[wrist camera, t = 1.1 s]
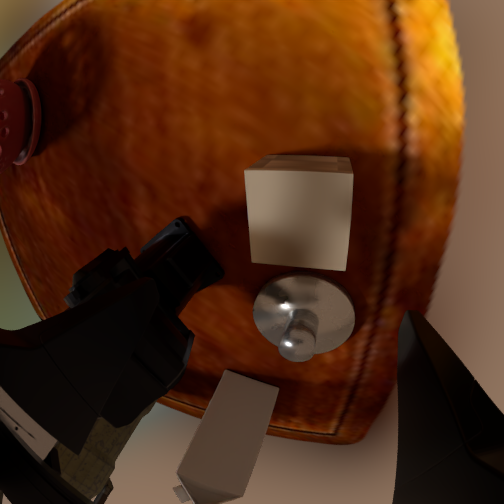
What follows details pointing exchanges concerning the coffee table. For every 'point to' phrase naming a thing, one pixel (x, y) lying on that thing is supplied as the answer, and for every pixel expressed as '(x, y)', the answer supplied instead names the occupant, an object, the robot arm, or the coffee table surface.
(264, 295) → the post stand
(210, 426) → the milk carton
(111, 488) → the thermos
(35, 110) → the plant pot
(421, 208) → the coffee table surface
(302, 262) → the beige wooden cube
